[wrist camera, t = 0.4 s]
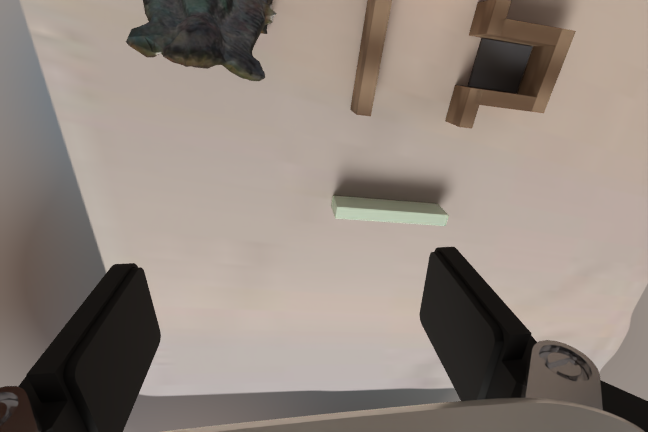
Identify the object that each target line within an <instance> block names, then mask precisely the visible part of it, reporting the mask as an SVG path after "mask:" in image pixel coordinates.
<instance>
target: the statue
mask: <svg viewBox="0 0 648 432" xmlns="http://www.w3.org/2000/svg"><path fill="white" fill-rule="evenodd" d="M143 3H144V8H145V14H146V16H147V18H148V21H149V22H148V23H146V24H145V25H142V26H140V27H137V28H134V29H132V30H131V32H130V34H129V36H128V39H127V41H126V42H127V44H128V45H129V46H130V47H132V48H134V49H135V50H137V51H138V52H140V53H141V54H143V55H144V56H146V57H155V56H157V55H159V54H162V55H163V57H165V58H167V59H168V60H170V61H172V62H174V63H177V64H181V65H184V66H186V67H188V66H193V67H198V68H210V67H212V66H215V65H223V66H224V67H225V68H227V69H228V70H229V71H230V72H232V73H234V74H235V75H237V76H239V77H241V78H243V79H248V80H251V81H260V80H262V79H264V78H265V73H264V71H263V70H262V67H261V65H260V63H259V61H258V60H256V59H255V58H254V57H253V56H252V50H253V47H254V45H255V43H256V41H257V39H258V37H259V35H260V33H263V34H267V24H270V23H272V22H273V17H274V16H275V15H276V13H275V12H274V11H273V9H272V0H143Z"/></svg>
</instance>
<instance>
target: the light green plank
mask: <svg viewBox="0 0 648 432" xmlns="http://www.w3.org/2000/svg"><path fill="white" fill-rule="evenodd" d="M331 207H332V210H333V213H334V216H335V218H337V219H352V220H366V221H381V222H395V223H409V224H424V225H438V226H446V223H447V220H448V216H449V215H448V214H447V213H446V212H445V211H444V210H443V209H442V208H441V207H440V206H439V205H438V204H434V203H422V202H409V201H397V200H384V199H372V198H359V197H347V196H334V195H333V199H332V205H331Z"/></svg>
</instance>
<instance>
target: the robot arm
mask: <svg viewBox="0 0 648 432" xmlns="http://www.w3.org/2000/svg"><path fill="white" fill-rule="evenodd" d="M420 320H421V324H422V326H423V328H424V330H425V331H426V333H427V335H428V337H429V339H430V341H431V343H432V345H433V347H434V349H435V351H436V353H437V355H438V357H439V359H440V361H441V363H442V365H443V366H444V368H445V370H446V372H447V374H448V376H449V378H450V380H451V382H452V384H453V386H454V388H455V390H456V391H457V394H458V396H459V398H460V400H461V401H458V402H446V403H434V404H424V405H414V406H404V407H393V408H383V409H372V410H362V411H352V412H342V413H332V414H323V415H313V416H303V417H293V418H283V419H274V420H264V421H254V422H246V423H236V424H227V425H217V426H208V427H199V428H190V429H181V430H172V431H162V432H648V401H646V400H643V399H641V398H639V397H637V396H635V395H632V394H630V393H627V392H625V391H623V390H621V389H619V388H617V387H614V386H612V385H610V384H608V383H605V382H603V381H601V380H600V375H599V371H598V369H597V367H596V366H595V364H594V363H593V362H592V361H591V360H590V359H589V358H588V357H587V356H586V355H585V354H583V353H582V352H580V351H579V350H577V349H575V348H573V347H571V346H569V345H567V344H564V343H561V342H557V341H550V340H545V341H539V342H538V343H537V342H536V341H535V339H534V338H533V337H532V336H531V332H530V331H529V330H528V329H527V328H526V327H525V326H524V324H523V323H522V322H521V321H520V320H519V319H518V318H517V317H516V315H515V314H514V313H513V312H512V311H511V310H510V309H509V308H508V306H507V305H506V304H505V303H504V302H503V301H502V300H501V299H500V297H499V296H498V295H497V294H496V293H495V292H494V291H493V289H492V288H491V287H490V286H489V285H488V284H487V283H486V282H485V280H484V279H483V278H482V277H481V276H480V275H479V274H478V273H477V271H476V270H475V269H474V268H473V267H472V266H471V265H470V264H469V262H468V261H467V260H466V259H465V258H464V257H463V256H462V255H461V253H460V252H459V251H458V250H457V249H456V248H455V247H440V248H436V250H435V252H432V253H431V254H430V257H429V263H428V269H427V274H426V280H425V286H424V292H423V297H422V303H421V309H420ZM160 337H161V334H160V329H159V325H158V321H157V318H156V314H155V310H154V306H153V303H152V299H151V295H150V292H149V288H148V284H147V280H146V277H145V273H144V270H143V269H142V268H138V266H137V265H136V264H134V263H131V264H115V265H113V266H112V267H111V268H110V269H109V271H108V272H107V273H106V274H105V276H104V277H103V278H102V279H101V281H100V282H99V283H98V285H97V286H96V287H95V288H94V290H93V291H92V292H91V294H90V295H89V296H88V297H87V299H86V300H85V301H84V302H83V304H82V305H81V306H80V307H79V309H78V310H77V311H76V312H75V314H74V315H73V316H72V318H71V319H70V320H69V321H68V323H67V324H66V325H65V327H64V328H63V329H62V330H61V332H60V333H59V334H58V335H57V337H56V338H55V339H54V341H53V342H52V343H51V344H50V346H49V347H48V348H47V349H46V351H45V352H44V353H43V354H42V356H41V357H40V358H39V360H38V361H37V362H36V363H35V365H34V366H33V367H32V368H31V370H30V371H29V372H28V373H27V376H26V377H25V379H24V380H23V381H22V383H21V384H20V385H19V386H18V387H17V386H5V387H1V388H0V432H123V430H124V427H125V425H126V422H127V420H128V418H129V415H130V413H131V411H132V408H133V406H134V403H135V401H136V398H137V396H138V394H139V391H140V389H141V387H142V384H143V382H144V379H145V377H146V375H147V372H148V370H149V367H150V365H151V363H152V360H153V358H154V355H155V353H156V351H157V348H158V346H159V343H160Z"/></svg>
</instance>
